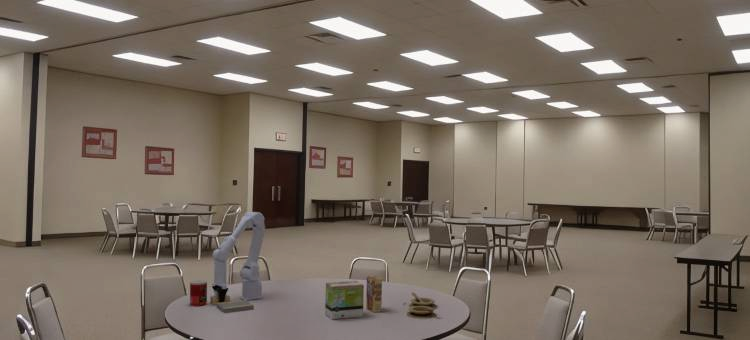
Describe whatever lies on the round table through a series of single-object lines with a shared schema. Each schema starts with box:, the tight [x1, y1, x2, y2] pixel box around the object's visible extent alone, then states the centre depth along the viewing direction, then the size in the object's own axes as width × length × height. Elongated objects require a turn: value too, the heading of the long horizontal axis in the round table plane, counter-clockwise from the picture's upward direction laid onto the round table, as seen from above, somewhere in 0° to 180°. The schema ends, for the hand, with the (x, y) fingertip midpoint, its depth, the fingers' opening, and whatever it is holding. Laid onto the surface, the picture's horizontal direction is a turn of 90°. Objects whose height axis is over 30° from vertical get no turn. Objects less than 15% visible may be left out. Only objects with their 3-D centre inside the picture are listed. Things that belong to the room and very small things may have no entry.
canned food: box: [189, 279, 208, 307], centre depth 276 cm, size 8×8×11 cm
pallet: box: [209, 293, 231, 306], centre depth 279 cm, size 8×5×4 cm, turn 122°
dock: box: [216, 299, 255, 314], centre depth 268 cm, size 14×12×2 cm
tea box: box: [324, 280, 365, 320], centre depth 256 cm, size 15×10×15 cm, turn 114°
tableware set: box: [402, 292, 438, 320], centre depth 267 cm, size 30×20×6 cm, turn 173°
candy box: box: [365, 275, 383, 313], centre depth 267 cm, size 9×4×15 cm, turn 26°
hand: (220, 301), depth 279 cm, fingers closed on pallet, 5 cm apart
